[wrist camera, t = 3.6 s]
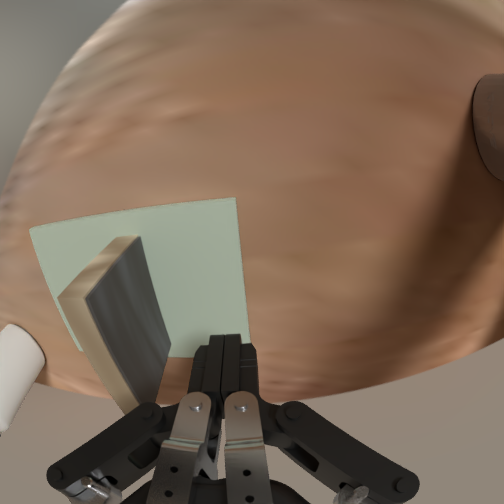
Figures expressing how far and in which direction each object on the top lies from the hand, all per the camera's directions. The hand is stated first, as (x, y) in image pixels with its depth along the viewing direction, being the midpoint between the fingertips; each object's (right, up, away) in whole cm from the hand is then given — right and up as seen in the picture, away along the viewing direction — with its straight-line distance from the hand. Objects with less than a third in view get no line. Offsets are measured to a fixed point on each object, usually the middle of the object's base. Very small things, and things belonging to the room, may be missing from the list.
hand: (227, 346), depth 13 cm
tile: (-6, +2, +5) cm, 8 cm away
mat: (-7, +2, +5) cm, 9 cm away
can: (-25, -6, +8) cm, 27 cm away
